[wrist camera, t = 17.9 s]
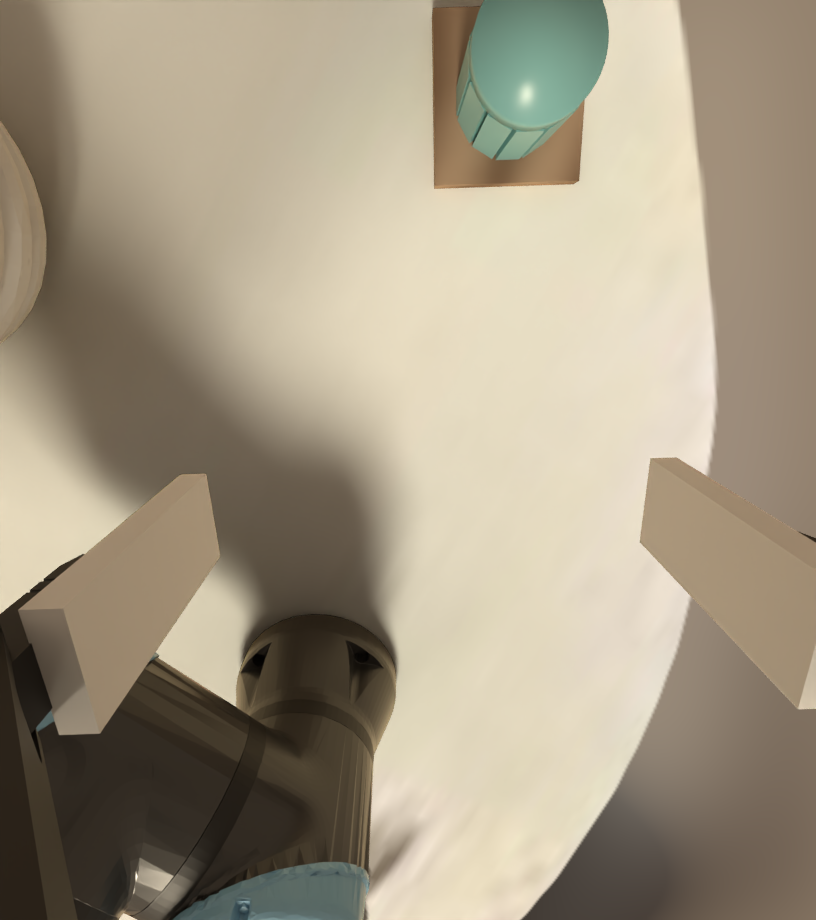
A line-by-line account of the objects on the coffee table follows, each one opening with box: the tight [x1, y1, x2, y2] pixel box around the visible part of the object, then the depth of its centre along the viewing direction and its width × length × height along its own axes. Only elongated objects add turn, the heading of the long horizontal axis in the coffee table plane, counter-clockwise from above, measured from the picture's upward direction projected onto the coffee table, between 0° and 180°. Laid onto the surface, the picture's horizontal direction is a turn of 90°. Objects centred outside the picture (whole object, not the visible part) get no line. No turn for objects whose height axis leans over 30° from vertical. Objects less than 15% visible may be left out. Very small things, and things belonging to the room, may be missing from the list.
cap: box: [456, 0, 609, 160], centre depth 30 cm, size 7×7×8 cm
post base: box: [432, 6, 585, 189], centre depth 31 cm, size 10×10×7 cm
